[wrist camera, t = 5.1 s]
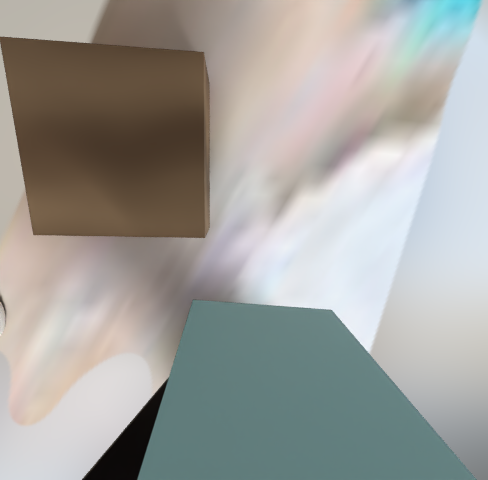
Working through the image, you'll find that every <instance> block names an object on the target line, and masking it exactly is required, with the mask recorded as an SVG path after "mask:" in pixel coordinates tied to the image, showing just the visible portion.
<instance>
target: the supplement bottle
mask: <svg viewBox="0 0 488 480" xmlns="http://www.w3.org/2000/svg"><path fill="white" fill-rule="evenodd" d="M4 327H5V311H4V308H3V306H2V303H1V302H0V336H1V335H2V333H3V330H4Z"/></svg>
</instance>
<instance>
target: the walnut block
mask: <svg viewBox="0 0 488 480" xmlns="http://www.w3.org/2000/svg"><path fill="white" fill-rule="evenodd" d="M0 43H1V48H2V55H3V61H4V67H5V72H6V78H7V84H8V90H9V95H10V101H11V107H12V113H13V118H14V125H15V130H16V136H17V142H18V148H19V153H20V159H21V165H22V171H23V177H24V182H25V188H26V194H27V200H28V206H29V212H30V217H31V223H32V229H33V235H65V236H125V237H186V238H205V236H206V234H207V232H208V230H209V228H210V183H209V79H208V74H207V68H206V62H205V57H204V52H195V51H182V50H169V49H156V48H143V47H130V46H117V45H103V44H90V43H77V42H64V41H50V40H38V39H25V38H24V39H23V38H11V37H0Z"/></svg>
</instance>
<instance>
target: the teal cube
mask: <svg viewBox="0 0 488 480" xmlns="http://www.w3.org/2000/svg"><path fill="white" fill-rule="evenodd" d="M137 480H477V479H476V478H475V477H474V476H473V475H472V474H471V472H470V471H469V470H468V469H467V468H466V466H465V465H464V464H463V463H462V462H461V461H460V459H458V457H457V456H456V455H455V454H454V452H453V451H452V450H451V449H450V448H449V447H448V446H447V444H446V443H445V442H444V441H443V440H442V438H441V437H440V436H439V435H438V434H437V433H436V431H435V430H434V429H433V428H432V427H431V426H430V424H429V423H428V422H427V421H426V420H425V419H424V417H422V415H421V414H420V413H419V412H418V410H417V409H416V408H415V407H414V406H413V405H412V404H411V402H410V401H409V400H408V399H407V398H406V396H405V395H404V394H403V393H402V392H401V391H400V389H399V388H398V387H397V386H396V385H395V383H394V382H393V381H392V380H391V379H390V378H389V376H388V375H387V374H386V373H385V372H384V371H383V370H382V368H381V367H380V366H379V365H378V364H377V362H376V361H375V360H374V359H373V358H372V357H371V355H370V354H369V353H368V352H367V351H366V350H365V348H364V347H363V346H362V345H361V344H360V343H359V341H358V340H357V339H356V338H355V337H354V336H353V334H352V333H351V332H350V331H349V330H348V329H347V327H346V326H345V325H344V324H343V323H342V322H341V320H340V319H339V318H338V317H337V316H336V314H335V313H334V312H333V311H332V310H326V309H312V308H298V307H285V306H271V305H258V304H244V303H231V302H217V301H204V300H193V302H192V305H191V308H190V311H189V315H188V318H187V321H186V324H185V327H184V331H183V334H182V337H181V340H180V344H179V347H178V350H177V353H176V356H175V360H174V363H173V366H172V369H171V373H170V376H169V379H168V382H167V386H166V389H165V392H164V395H163V398H162V402H161V405H160V408H159V411H158V415H157V418H156V421H155V424H154V428H153V431H152V434H151V437H150V440H149V444H148V447H147V450H146V453H145V457H144V460H143V463H142V466H141V470H140V473H139V476H138V479H137Z"/></svg>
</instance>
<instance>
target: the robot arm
mask: <svg viewBox="0 0 488 480" xmlns="http://www.w3.org/2000/svg"><path fill="white" fill-rule="evenodd" d="M168 379H169V378H168ZM168 379H167V380H166V381H165V382H164V383H163V385H162V386H161V387H160V388H159V389H158V390H157V392H156V393H155V394H154V395H153V396H152V398H151V399H150V400H149V401H148V402H147V403H146V405H145V406H144V407H143V408H142V409H141V411H140V412H139V413H138V414H137V415H136V416H135V418H134V419H133V420H132V421H131V422H130V424H129V425H128V426H127V427H126V428H125V429H124V431H123V432H122V433H121V434H120V435H119V437H118V438H117V439H116V440H115V441H114V442H113V444H112V445H111V446H110V447H109V448H108V450H107V451H106V452H105V453H104V454H103V455H102V457H101V458H100V459H99V460H98V461H97V463H96V464H95V465H94V466H93V467H92V468H91V470H90V471H89V472H88V473H87V474H86V475H85V477H84V478H83V479H82V480H137V479H138V476H139V473H140V470H141V466H142V463H143V460H144V457H145V453H146V450H147V447H148V444H149V440H150V437H151V434H152V431H153V428H154V424H155V421H156V418H157V415H158V411H159V408H160V405H161V402H162V398H163V395H164V392H165V389H166V386H167V382H168Z"/></svg>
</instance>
